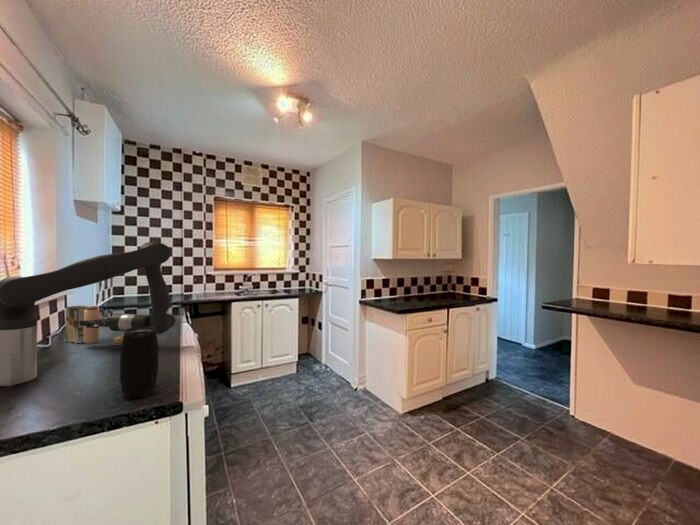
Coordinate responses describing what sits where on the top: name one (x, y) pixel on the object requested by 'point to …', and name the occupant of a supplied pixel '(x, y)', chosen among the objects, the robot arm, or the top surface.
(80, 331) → the coffee box
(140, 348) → the portable speaker
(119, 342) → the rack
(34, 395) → the top surface
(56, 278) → the robot arm
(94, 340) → the jar
